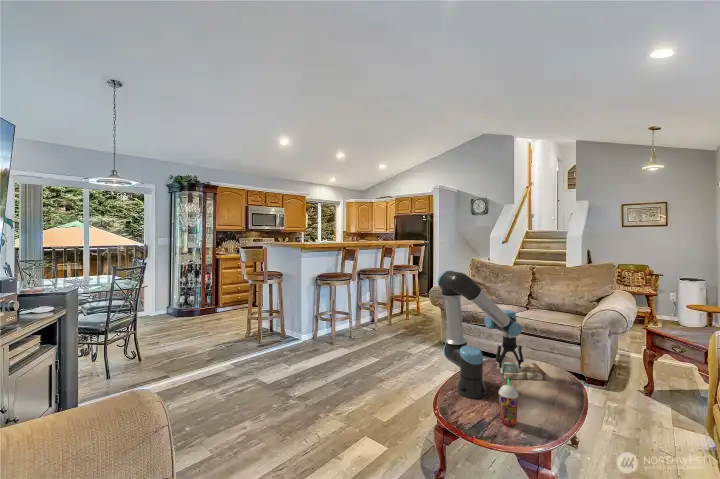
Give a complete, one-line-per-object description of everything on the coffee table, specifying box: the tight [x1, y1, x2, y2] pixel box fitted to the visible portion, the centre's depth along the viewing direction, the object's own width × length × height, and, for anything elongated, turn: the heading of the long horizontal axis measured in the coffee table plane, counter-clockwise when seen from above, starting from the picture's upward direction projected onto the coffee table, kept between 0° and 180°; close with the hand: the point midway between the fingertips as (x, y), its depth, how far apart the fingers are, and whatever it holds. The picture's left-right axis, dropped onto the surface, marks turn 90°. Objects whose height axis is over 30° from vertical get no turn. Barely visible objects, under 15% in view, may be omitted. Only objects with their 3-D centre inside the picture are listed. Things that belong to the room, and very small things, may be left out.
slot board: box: [496, 362, 547, 381], centre depth 205 cm, size 23×15×4 cm, turn 84°
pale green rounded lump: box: [503, 361, 516, 374], centre depth 205 cm, size 7×7×6 cm
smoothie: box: [497, 379, 519, 427], centre depth 153 cm, size 8×8×20 cm
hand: (509, 373), depth 205 cm, fingers open, 8 cm apart
